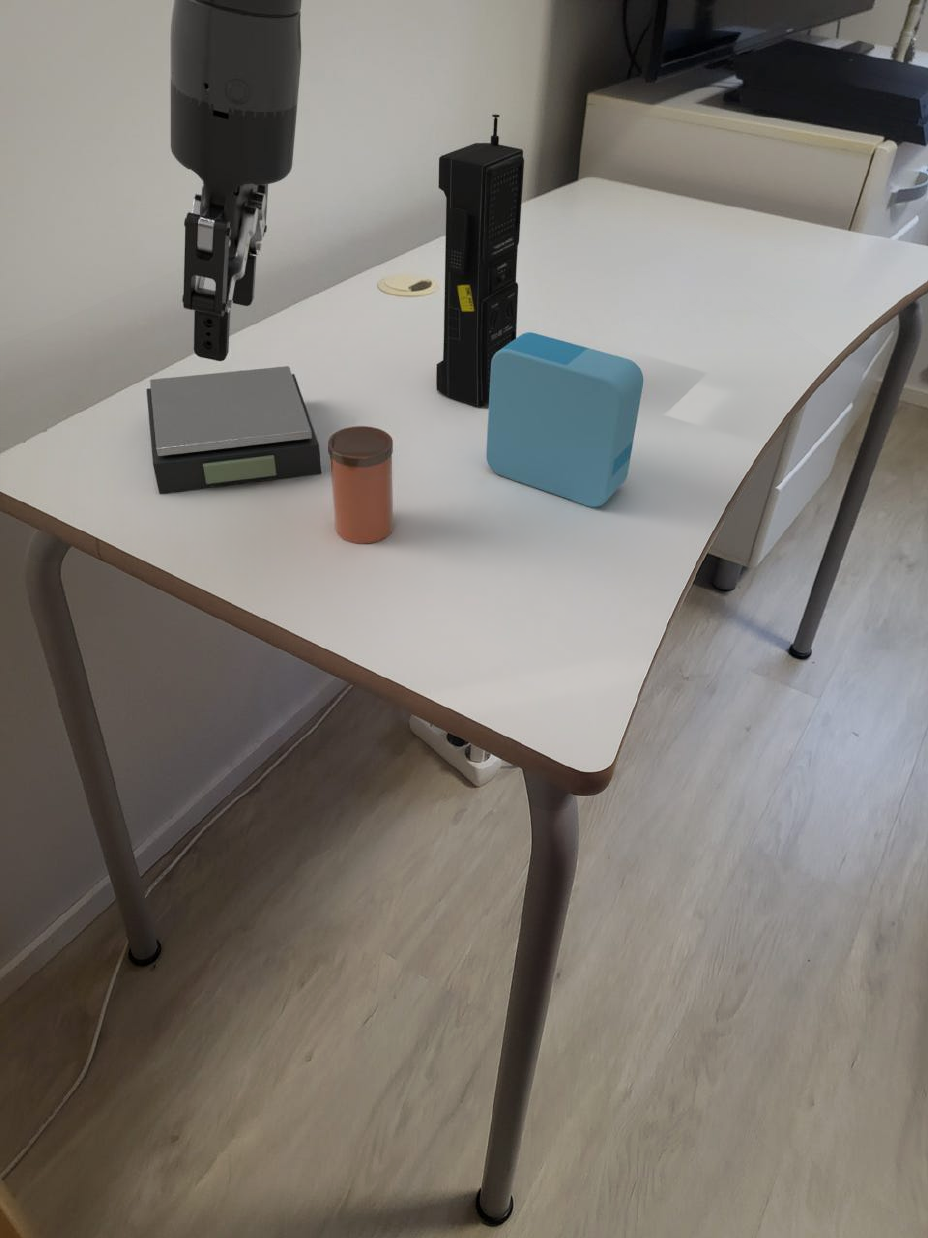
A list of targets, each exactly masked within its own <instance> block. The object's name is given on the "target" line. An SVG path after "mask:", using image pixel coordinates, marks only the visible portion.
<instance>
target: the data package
mask: <svg viewBox="0 0 928 1238" xmlns="http://www.w3.org/2000/svg"><path fill="white" fill-rule="evenodd" d="M643 386H644V375H643V372H642V370H641V368H640V366H639V365H638V364H637V363H636V362H635V361H633V360H632V359H629V358H626V357H622V356H619V355H615V354H611V353H607V352H604V351H600V350H597V349H594V348H589V347H585V346H582V345H579V344H576V343H573V342H568V341H565V340H562V339H561V340H560V339H558V338H554V337H550V336H547V335H543V334H539V333H535V332H533V331H528V332H524V333H522V334H520V335H518V337H517V336H516V339H515V340H513V341H512V342H510V343H509V344H508V345H506V346H505V347H503V348H502V349H500V350H499V351H498V352H496V353H495V355H494V356H493V358H492V362H491V376H490V395H489V402H488V413H487V415H488V417H487V432H486V433H487V434H486V452H485V457H486V462H487V464H488V466H489V468H490V469H491V470H492V471H493V472H494V473H495V474H496V475H498V476H501V477H504V478H506V479H509V480H512V481H515V482H518V483H520V484H524V485H526V486H529V487H531V488H535V489H538V490H541V491H544V492H547V493H549V494H552V495H555V496H558V497H561V498H564V499H567V500H569V501H572V502H575V503H578V504H580V505H584V506H587V507H589V508H590V507H591V508H597V507H600V506H602V505H604V504H605V503H606V502H607V501H608V500H609V499H610V498H611V497H612V496H613V495H614V493H615V492H616V491H617V490H618V489H619V488H620V487H621V486H622V485H623V483H624V482H625V481H626V480H627V478H628V475H629V469H630V463H631V457H632V451H633V447H634V440H635V434H636V428H637V422H638V415H639V409H640V404H641V398H642V393H643V388H644V387H643Z"/></svg>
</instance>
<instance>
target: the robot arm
mask: <svg viewBox="0 0 928 1238" xmlns="http://www.w3.org/2000/svg"><path fill="white" fill-rule="evenodd" d="M301 10H302V0H173V8H172V16H171V22H170V23H171V24H170V150H171V153H172V155H173V157H174V159H175V160H176V161H177V162H178V163H179V164H180V165H181V166H182V167H184V168H185V169H187V170H190V171H192V172H193V173H195V174H196V175H197V176H198V177H199V178H200V180H202V184H203V185H202V187H201V194H199V193H195V195H194V197H193V203H192V210H191V212H190V211H188V212H187V213H186V217H185V218H184V221H183V226H184V256H183V257H184V258H183V259H184V260H183V293H182V299H181V301H182V305H183V309H185V310H189V311H194V316H193V317H194V321H193V322H194V325H193V352H194V354H195V355H196V356H197V357H199V358H203V359H208V360H213V361H217V362H223V361H225V360H226V358H227V356H228V354H229V351H230V350H229V349H230V348H229V347H230V328H231V327H230V326H231V309H232V308H233V306H234V305H239V306H243V307H249V306H251V305H252V303H253V301H254V299H255V285H256V272H257V271H256V270H257V256H259V254H260V252H261V251H262V243H261V242H262V241H263V238H264V237H265V234H266V233H267V230H268V225H267V211H268V195H269V185H272V184H275V183H278V182H280V181H282V180H284V179H286V178H287V177H288V175H289V174H290V173H291V171H292V168H293V162H294V161H293V160H294V147H295V137H296V127H297V126H296V123H297V113H298V101H299V90H300V79H301V78H300V77H301V68H302V67H301V65H302V34H301V32H302V31H301V15H302V13H301V12H302V11H301ZM206 279H210V280H213V281H214V283H215V288H214V289H215V290H213V289H208V288H205V286H204V285H205V280H206ZM233 304H234V305H233Z"/></svg>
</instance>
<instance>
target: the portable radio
mask: <svg viewBox="0 0 928 1238" xmlns="http://www.w3.org/2000/svg"><path fill="white" fill-rule="evenodd" d="M500 116H501V115H500V114H492V115H491V117H492V118H493V128H492V129H493V130H492V131H493V132H492V135H490V142H475V143H472V144H469V145H466V146H464V147H461V148H459V149H456V150H453V151H451V152H448V153H445V154H441V156H440V157H438V189H439V190H441V191H442V192H443V194H444V196H445V200H446V201H445V245H444V246H445V247H444V248H445V251H444V301H443V302H444V303H443V304H444V305H443V306H444V307H443V347H442V348H443V351H442V360H441V361H439V362H438V363H436V369H435V371H436V372H435V373H436V374H435V375H436V376H435V377H436V378H435V379H436V380H435V381H436V383H435V385H436V386H435V387H436V389H435V390H436V391H437V392H439V393H440V394H441V395H444V396H446V397H448V398H450V399H451V398H452V399H454V400H457V401H460V402H463V403H465V404H469V405H472V406H475V407H477V408H480V407H481V408H482V407H484V405H486V404H487V403H489V395H490V376H491V362H492V358H493V356H494V355H495V353H496V352H498V351H499V350H500V349H502V348H503V347H505V346H506V345H508V344H509V343H510V342H512V341H513V340H515V339H516V338H517V326H518V325H517V324H518V301H519V284H518V282H517V269H518V268H517V267H518V249H519V248H518V247H519V244H520V234H521V217H522V202H523V201H522V200H523V187H524V169H525V158H524V151H523V148H519V147H514V146H508V145H503V144H499V143H500V136H499V135H498V118H500Z"/></svg>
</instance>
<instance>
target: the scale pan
mask: <svg viewBox="0 0 928 1238" xmlns="http://www.w3.org/2000/svg"><path fill="white" fill-rule="evenodd" d="M292 374H293V373H292V370H291V367H290V366H289V365H286V366H276V367H266V368H255V369H245V370H235V371H226V372H215V373H204V374H194V375H184V376H174V377H165V378H164V377H163V378H154V379H150V380H149V386H150V388H151V397H152V407H153V418H154V428H155V439H156V449H157V454H158V456H167V455H176V454H184V453H193V452H202V451H210V450H219V449H227V448H236V447H244V446H253V445H261V444H270V443H278V442H287V441H295V440H304V439H311V438H312V433H311V429H310V426H309V423H308V420H307V417H306V414H305V411H304V408H303V405H302V403H301V400H300V397H299V394H298V391H297V388H296V385H295V382H294V379H293V376H292Z"/></svg>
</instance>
